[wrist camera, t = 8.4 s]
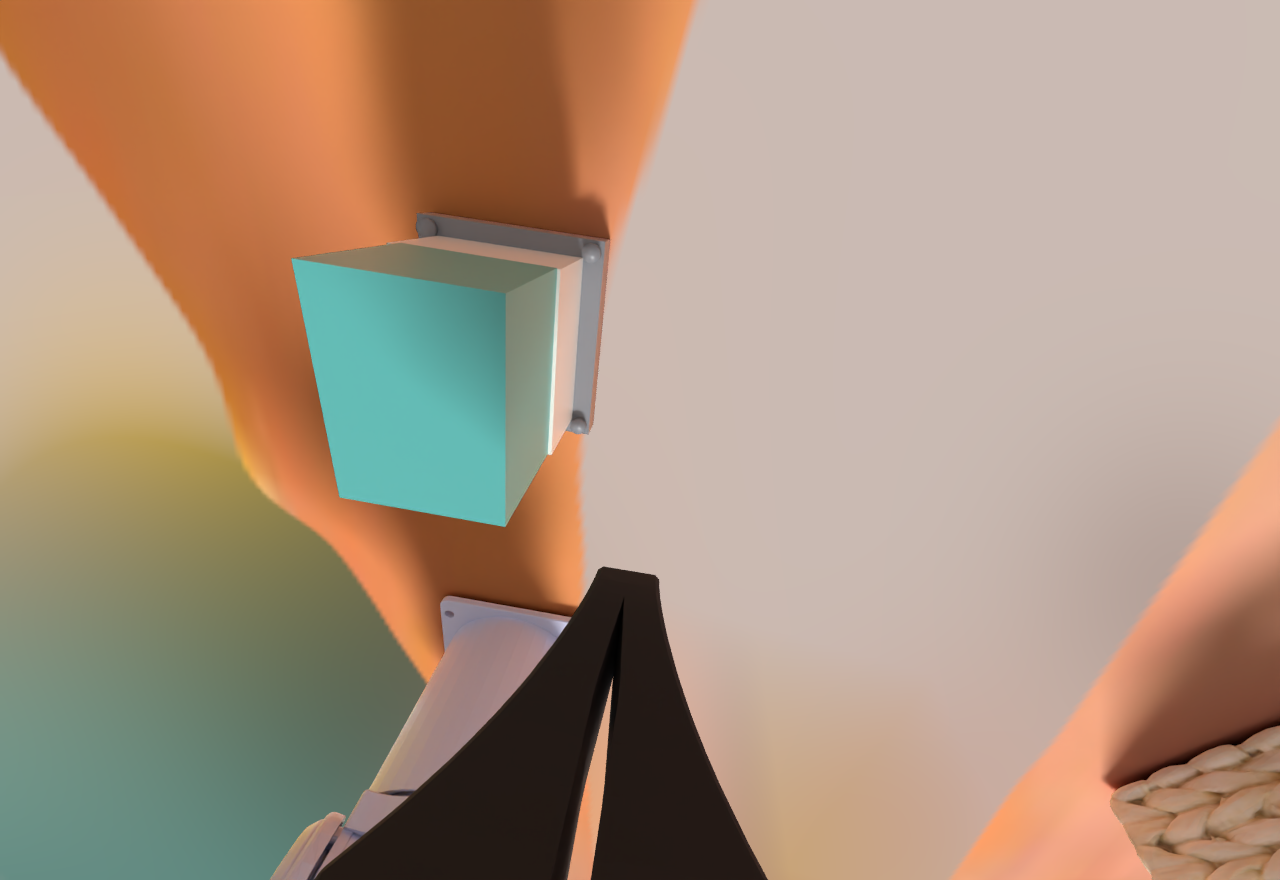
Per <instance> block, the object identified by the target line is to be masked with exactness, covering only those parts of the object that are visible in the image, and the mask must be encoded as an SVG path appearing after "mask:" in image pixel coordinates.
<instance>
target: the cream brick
mask: <svg viewBox="0 0 1280 880" xmlns="http://www.w3.org/2000/svg"><path fill="white" fill-rule="evenodd" d="M395 243H405V244H412V245H418V246H424V247H430V248H436V249H443V250H449V251H455V252H461V253H467V254H474V255H480V256H486V257H492V258H498V259H505V260H511V261H517V262H523V263H529V264H536V265H542V266H548V267H554V268H557V284H556V304H555V323H554V343H553V363H552V382H551V402H550V421H549V441H548V454H549V455H552V453H553V451H554V450H555V448H556V446H557V444H558V443H559V441H560V439H561V437H562V435H563V434H564V432H565V430H566V428H567V427H568V425H569V423H570V421H571V419H572V413H573V399H574V384H575V370H576V355H577V341H578V326H579V312H580V297H581V282H582V268H583V258H581V257H574V256H568V255H561V254H555V253H548V252H542V251H535V250H529V249H522V248H516V247H509V246H503V245H496V244H490V243H483V242H477V241H470V240H463V239H457V238H450V237H444V236H432V237H425V238H418V239H410V240H403V241H396V242H388V243H387V245H388V244H395Z"/></svg>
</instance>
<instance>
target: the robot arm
mask: <svg viewBox="0 0 1280 880" xmlns="http://www.w3.org/2000/svg"><path fill="white" fill-rule="evenodd" d="M659 592H660V591H659V579H658V578H657V577H656V576H655V575H651V574H645V573H639V572H633V571H627V570H621V569H614V568H608V567H602V568H600V569H598V571H597V574H596V577H595V578H594V580H593V582H592V584H591V586H590V588H589V590H588V592H587V593H586V595H585V597H584V599H583V600H582V602H581V603H580V605H579V607H578V608H577V610H576V612H575V613H574V615H573V616H572V617H567V616H562V615H556V614H550V613H545V612H539V611H534V610H528V609H522V608H517V607H511V606H506V605H500V604H494V603H489V602H483V601H478V600H472V599H466V598H461V597H455V596H446V597H444V598H443V600H442V601H441V603H440V609H441V619H442V629H443V639H444V649H445V653H444V655H443V657H442V658H441V660H440V662H439V664H438V666H437V667H436V669H435V671H434V673H433V675H432V676H431V678H430V680H429V682H428V684H427V686H426V688H425V689H424V691H423V693H422V695H421V697H420V698H419V700H418V702H417V704H416V705H415V707H414V709H413V711H412V713H411V715H410V716H409V718H408V720H407V722H406V724H405V726H404V727H403V729H402V731H401V733H400V734H399V736H398V738H397V740H396V742H395V744H394V745H393V747H392V749H391V751H390V752H389V754H388V756H387V758H386V760H385V762H384V763H383V765H382V767H381V769H380V771H379V773H378V774H377V776H376V778H375V780H374V782H373V783H372V785H371V787H370V789H369V790H365V791H364V792H363V794H362V795H361V797H360V799H359V801H358V803H357V805H356V806H355V808H354V810H353V812H352V813H351V815H350V817H349V819H348V820H347V822H346V824H345V826H344V828H343V827H341V826H342V824H343V822H344V820H345V817H346V816H345V815H342V814H340V813H337V812H331V813H330V814H328V815H327V816H326V817H325V819H324V820H319V821H318V822H316V823H314V824H312V825H310V826H308V827H307V828H306V829H305V830H304V831H303V832H302V834H301V835H300V836H299V838H298V839H297V840H296V842H295V843H294V845H293V846H292V847H291V849H290V850H289V852H288V853H287V855H286V856H285V857H284V859H283V861H282V862H281V864H280V865H279V867H278V868H277V870H276V871H275V873H274V874H273V876H272V877H271V879H270V880H567V878H568V872H569V867H570V861H571V855H572V850H573V844H574V839H575V833H576V828H577V822H578V817H579V811H580V806H581V801H582V797H583V792H584V788H585V783H586V779H587V775H588V771H589V767H590V763H591V760H592V756H593V752H594V748H595V744H596V740H597V736H598V733H599V729H600V725H601V721H602V717H603V713H604V709H605V706H606V702H607V698H608V694H609V690H610V686H611V682H612V679H613V685H612V698H611V710H610V723H609V736H608V748H607V760H606V774H605V785H604V794H603V803H602V810H601V817H600V824H599V830H598V837H597V843H596V850H595V856H594V863H593V869H592V876H591V880H768V879H767V878H766V876H765V874H764V872H763V870H762V868H761V866H760V864H759V862H758V861H757V859H756V857H755V855H754V853H753V851H752V849H751V847H750V845H749V844H748V842H747V840H746V838H745V835H744V834H743V831H742V829H741V827H740V825H739V823H738V821H737V819H736V817H735V815H734V813H733V811H732V809H731V807H730V805H729V802H728V801H727V798H726V796H725V794H724V792H723V790H722V788H721V786H720V784H719V782H718V780H717V777H716V775H715V772H714V770H713V768H712V766H711V763H710V761H709V759H708V756H707V754H706V752H705V749H704V747H703V744H702V742H701V739H700V737H699V734H698V732H697V729H696V727H695V724H694V721H693V718H692V716H691V713H690V710H689V707H688V704H687V702H686V699H685V696H684V693H683V689H682V687H681V684H680V680H679V678H678V674H677V671H676V667H675V664H674V660H673V656H672V652H671V649H670V645H669V642H668V637H667V633H666V628H665V624H664V618H663V613H662V608H661V601H660V593H659Z"/></svg>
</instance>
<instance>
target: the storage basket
mask: <svg viewBox="0 0 1280 880" xmlns="http://www.w3.org/2000/svg"><path fill="white" fill-rule="evenodd" d="M1110 807H1111V809H1112V811H1113V813H1114V815H1115V816H1116V817H1117V819H1118V820H1119V821H1120V823H1121V824H1122V825H1123V827H1124V829H1125V831H1126V833H1127V835H1128V837H1129V839H1130V841H1131V842H1132V844H1133V845H1134V847H1135V849H1136V852H1137V855H1138V856H1139V858H1140V860H1141V861H1142V863H1143V865H1144V866H1145V868H1146V869H1147V870H1148V871H1149V873H1150V874H1151V876H1152V880H1280V726H1276V727H1271V728H1267V729H1265V730H1263V731H1261V732H1259V733H1257V734H1255V735H1253V736H1252V737H1250V738H1249V739H1247V740H1246V741H1245V742H1243V743H1242V744H1240V745H1237V746H1233V745H1221V746H1218V747H1215V748H1212V749H1210V750H1207V751H1205V752H1203V753H1201V754H1200V755H1198V756H1196V757H1194V758H1193V759H1191V760H1190V761H1189V762H1188V763H1187V764H1183V765H1174V766H1168V767H1165V768H1163V769H1161V770H1159V771H1157V772H1155V773H1153V774H1152V775H1151V776H1150V777H1149V778H1148V779H1147V780H1140V781H1137V782H1133V783H1130V784H1127V785H1125V786H1123V787H1120V788H1118V789H1117V790H1116V791H1115V792H1114V793H1113V794H1112V795H1111V800H1110Z"/></svg>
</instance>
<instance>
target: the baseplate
mask: <svg viewBox="0 0 1280 880" xmlns="http://www.w3.org/2000/svg"><path fill="white" fill-rule="evenodd" d="M416 230H417V232H418V235H419V238H425V237H432V236H444V237H450V238H457V239H463V240H470V241H477V242H483V243H490V244H496V245H503V246H509V247H516V248H522V249H529V250H535V251H542V252H548V253H555V254H561V255H568V256H574V257H581V258H583V268H582V282H581V297H580V312H579V326H578V341H577V355H576V370H575V384H574V399H573V413H572V419H571V421H570V423H569V425H568V427H567V428H566V430H565V431H570V432H573V433H575V434H581V433H582V434H589V432H590V430H591V427H592V425H593V421H594V409H595V399H596V388H597V377H598V366H599V356H600V345H601V334H602V323H603V313H604V302H605V291H606V280H607V270H608V259H609V248H610V239H604V238H597V237H591V236H584V235H577V234H571V233H564V232H558V231H551V230H544V229H538V228H531V227H525V226H518V225H511V224H505V223H498V222H492V221H485V220H478V219H472V218H465V217H459V216H452V215H445V214H439V213H432V212H430V213H417V223H416Z"/></svg>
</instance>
